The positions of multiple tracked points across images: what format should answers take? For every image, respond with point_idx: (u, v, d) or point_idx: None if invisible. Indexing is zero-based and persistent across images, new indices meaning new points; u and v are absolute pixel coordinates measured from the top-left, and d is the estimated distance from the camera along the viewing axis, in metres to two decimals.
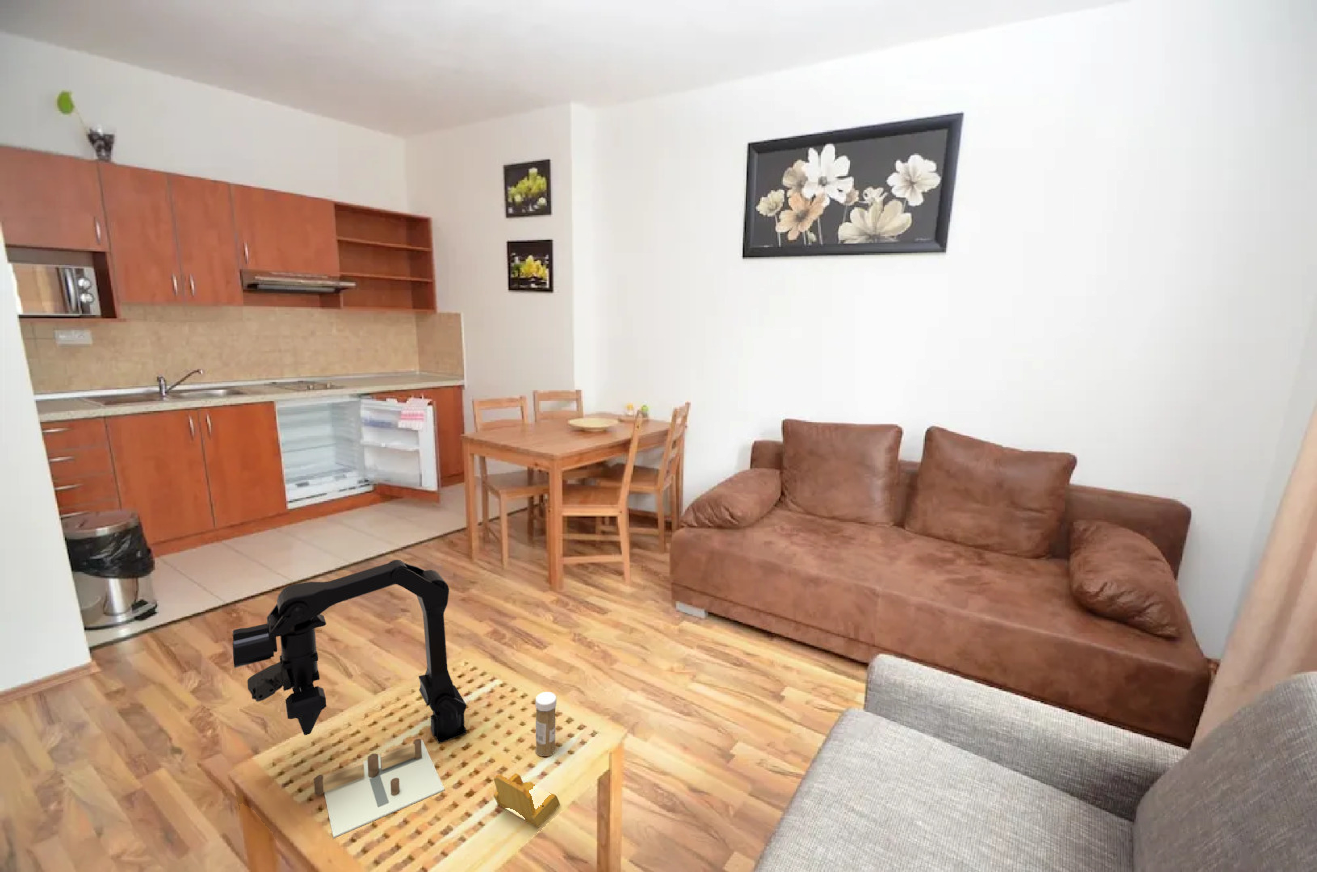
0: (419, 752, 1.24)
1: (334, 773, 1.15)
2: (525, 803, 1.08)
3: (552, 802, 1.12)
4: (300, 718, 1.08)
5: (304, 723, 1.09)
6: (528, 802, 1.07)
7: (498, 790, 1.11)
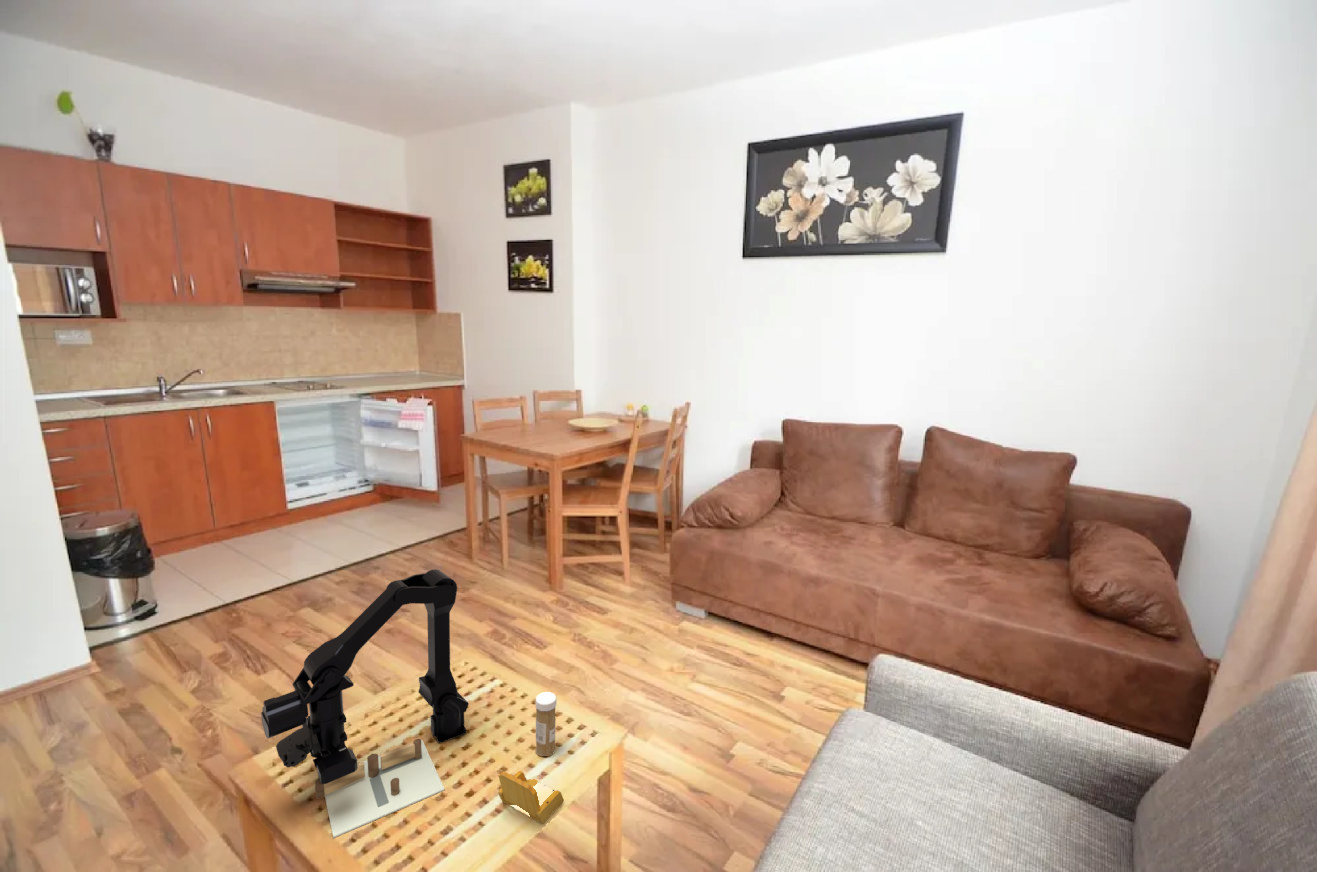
0: (419, 752, 1.24)
1: None
2: (530, 800, 1.09)
3: (556, 798, 1.13)
4: None
5: None
6: (533, 798, 1.08)
7: (503, 787, 1.12)
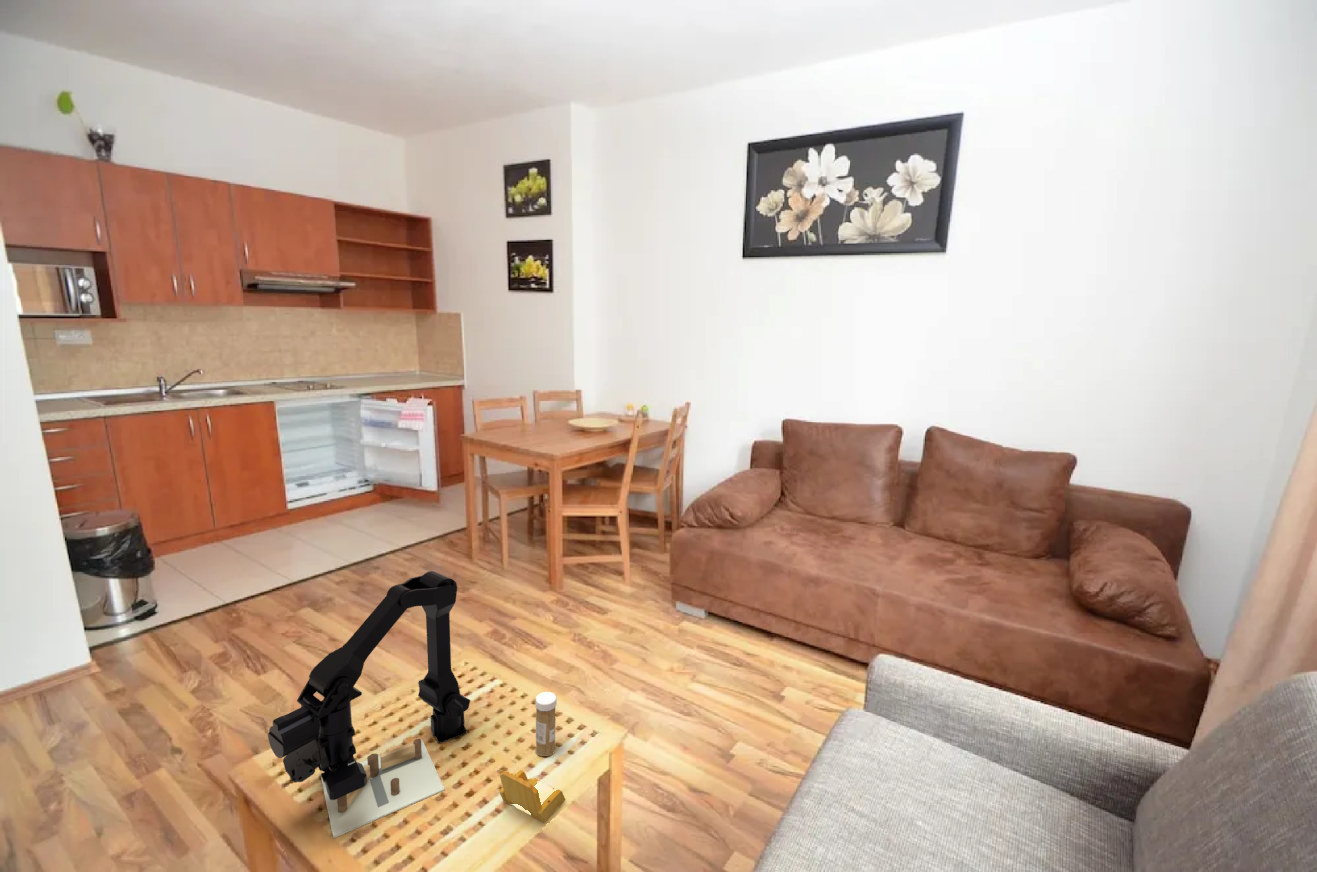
0: (419, 752, 1.24)
1: None
2: (531, 799, 1.09)
3: (558, 797, 1.14)
4: None
5: None
6: (535, 797, 1.08)
7: (504, 786, 1.12)
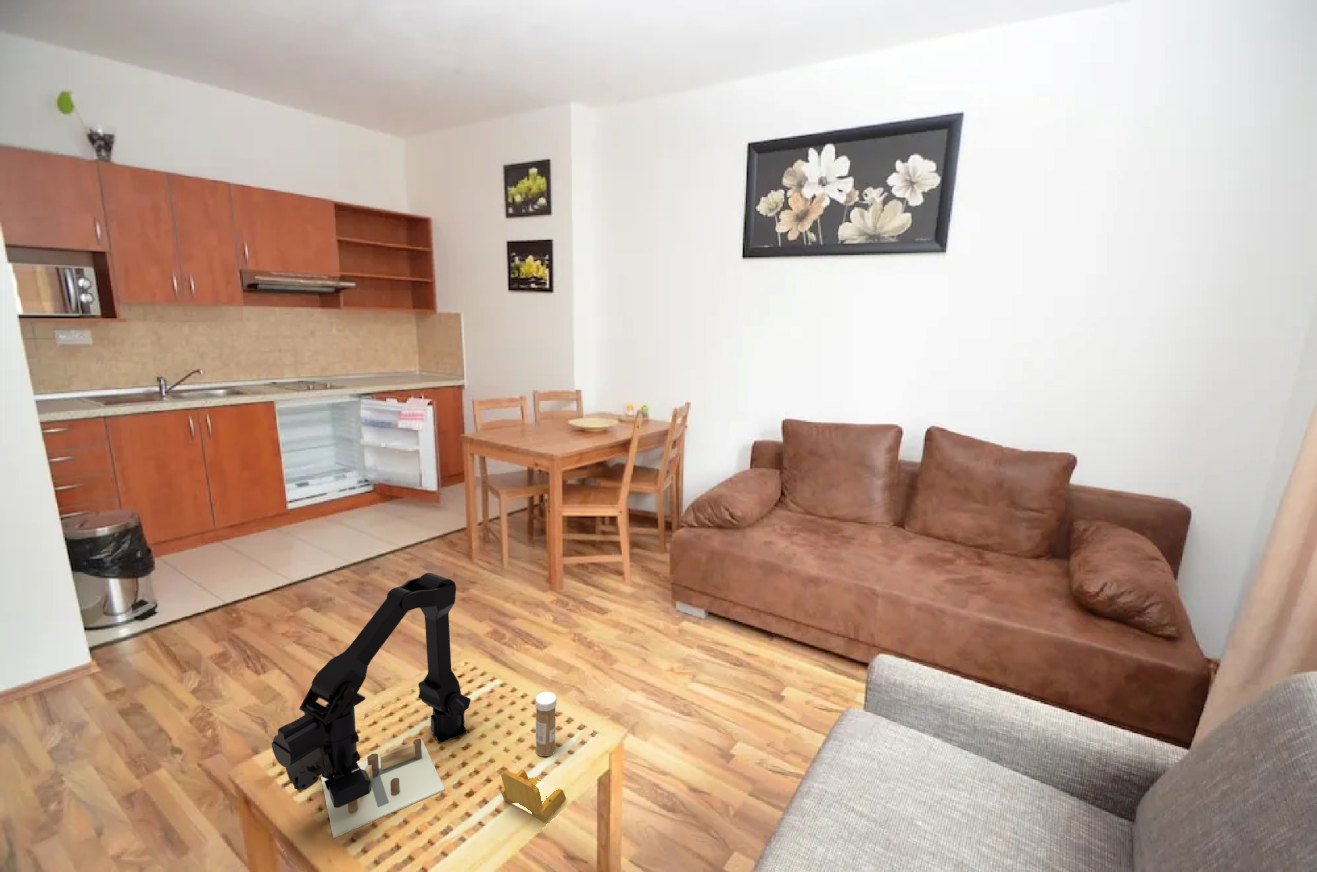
0: (419, 752, 1.24)
1: None
2: (532, 798, 1.09)
3: (559, 796, 1.14)
4: None
5: None
6: (536, 796, 1.08)
7: (505, 786, 1.13)
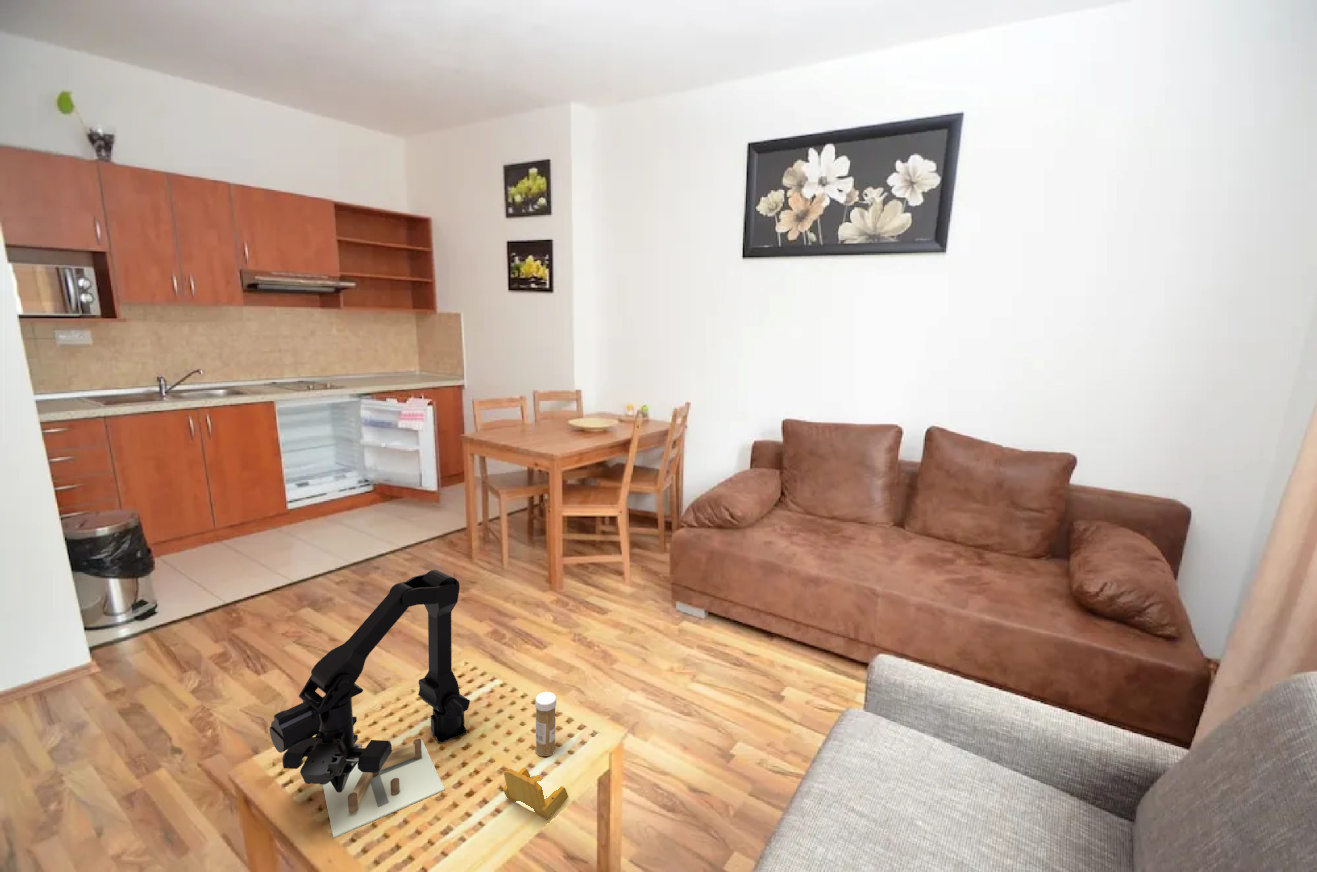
0: (419, 752, 1.24)
1: (359, 785, 1.12)
2: (535, 796, 1.10)
3: (561, 794, 1.14)
4: (345, 773, 1.12)
5: (344, 778, 1.12)
6: (539, 794, 1.09)
7: (508, 784, 1.13)
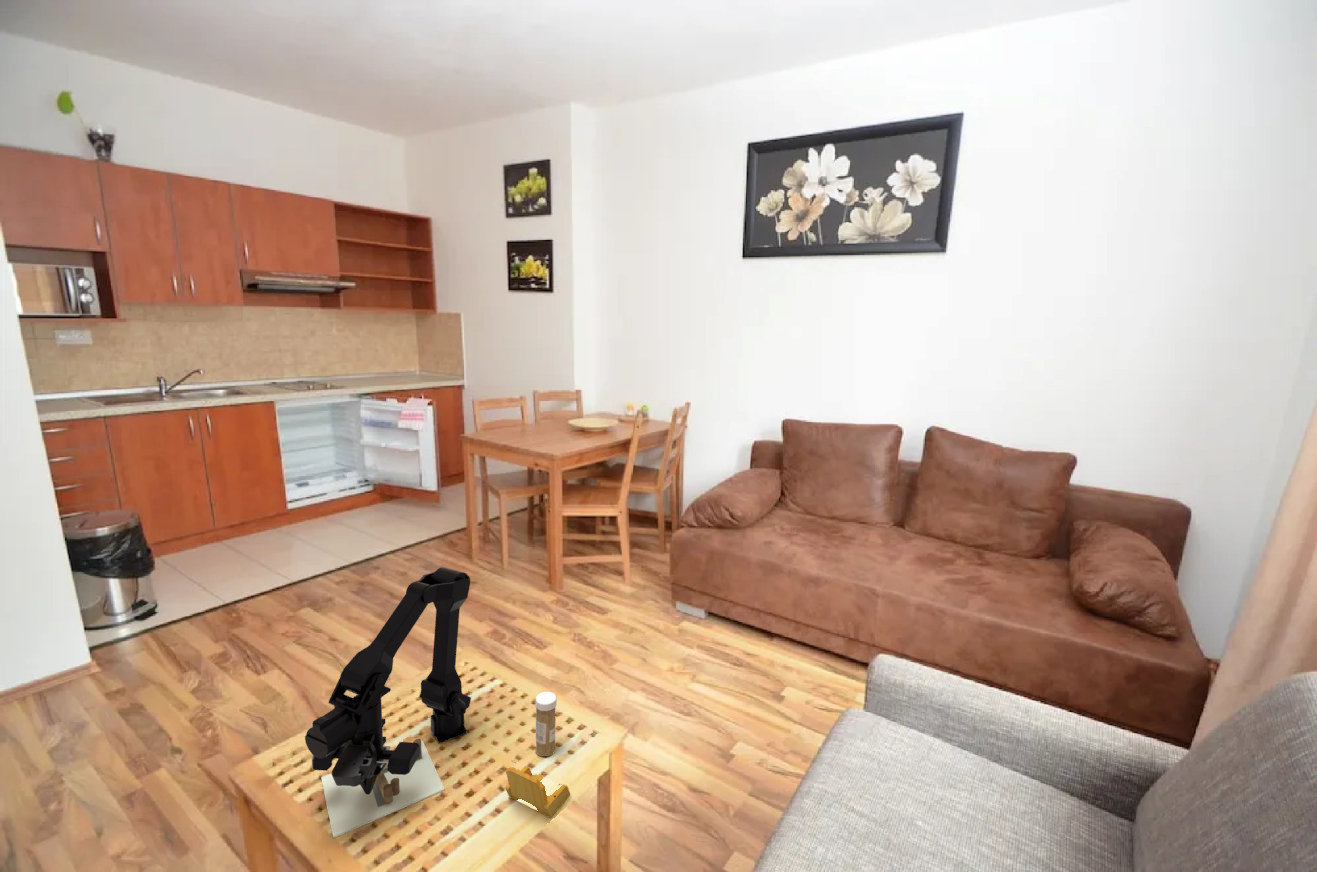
0: None
1: (384, 779, 1.14)
2: (538, 794, 1.10)
3: (563, 792, 1.15)
4: (374, 775, 1.11)
5: (373, 780, 1.12)
6: (541, 792, 1.09)
7: (510, 782, 1.13)
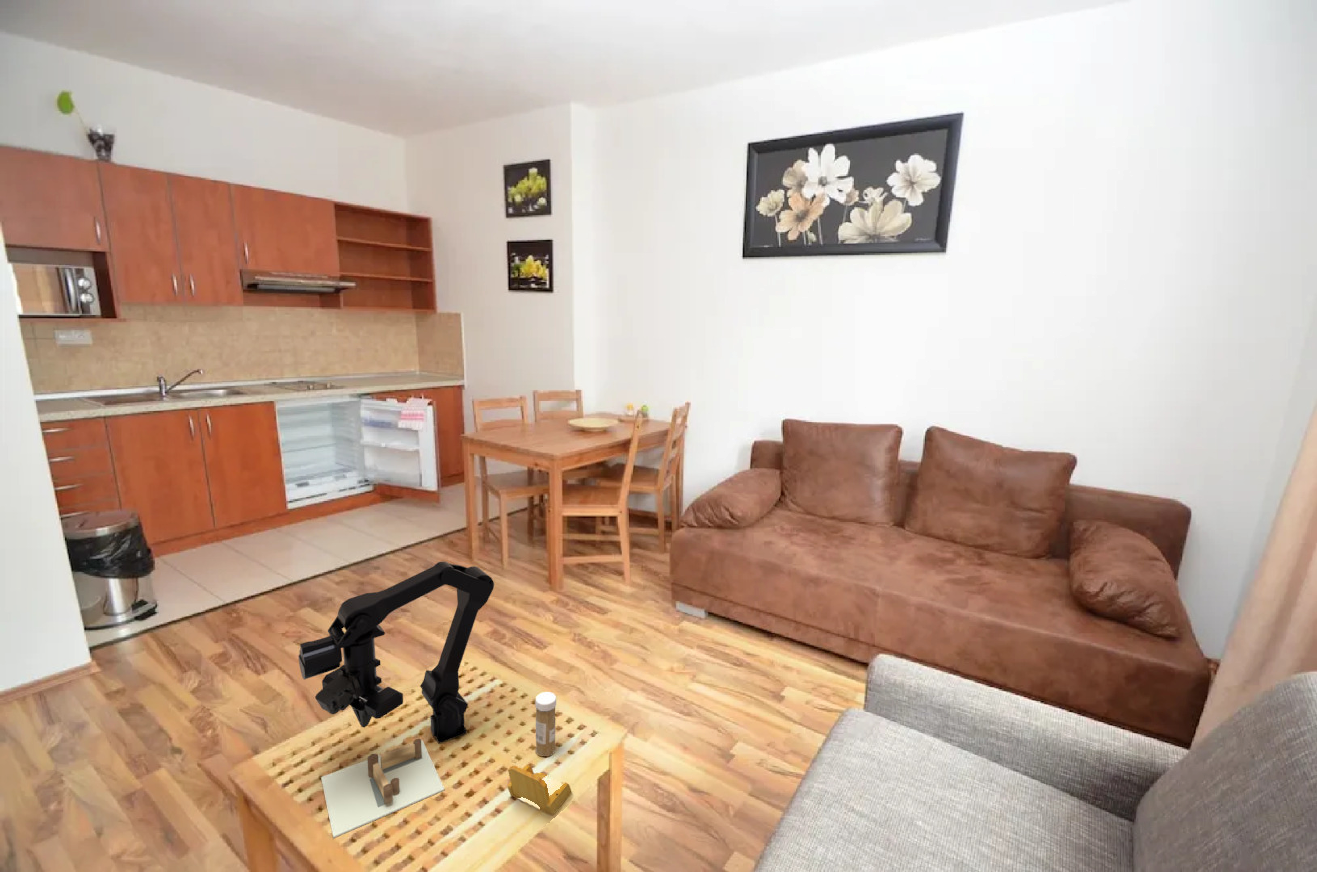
0: (419, 752, 1.24)
1: (384, 779, 1.14)
2: (540, 792, 1.11)
3: (565, 790, 1.15)
4: (364, 711, 1.17)
5: (365, 715, 1.18)
6: (543, 790, 1.10)
7: (512, 781, 1.14)
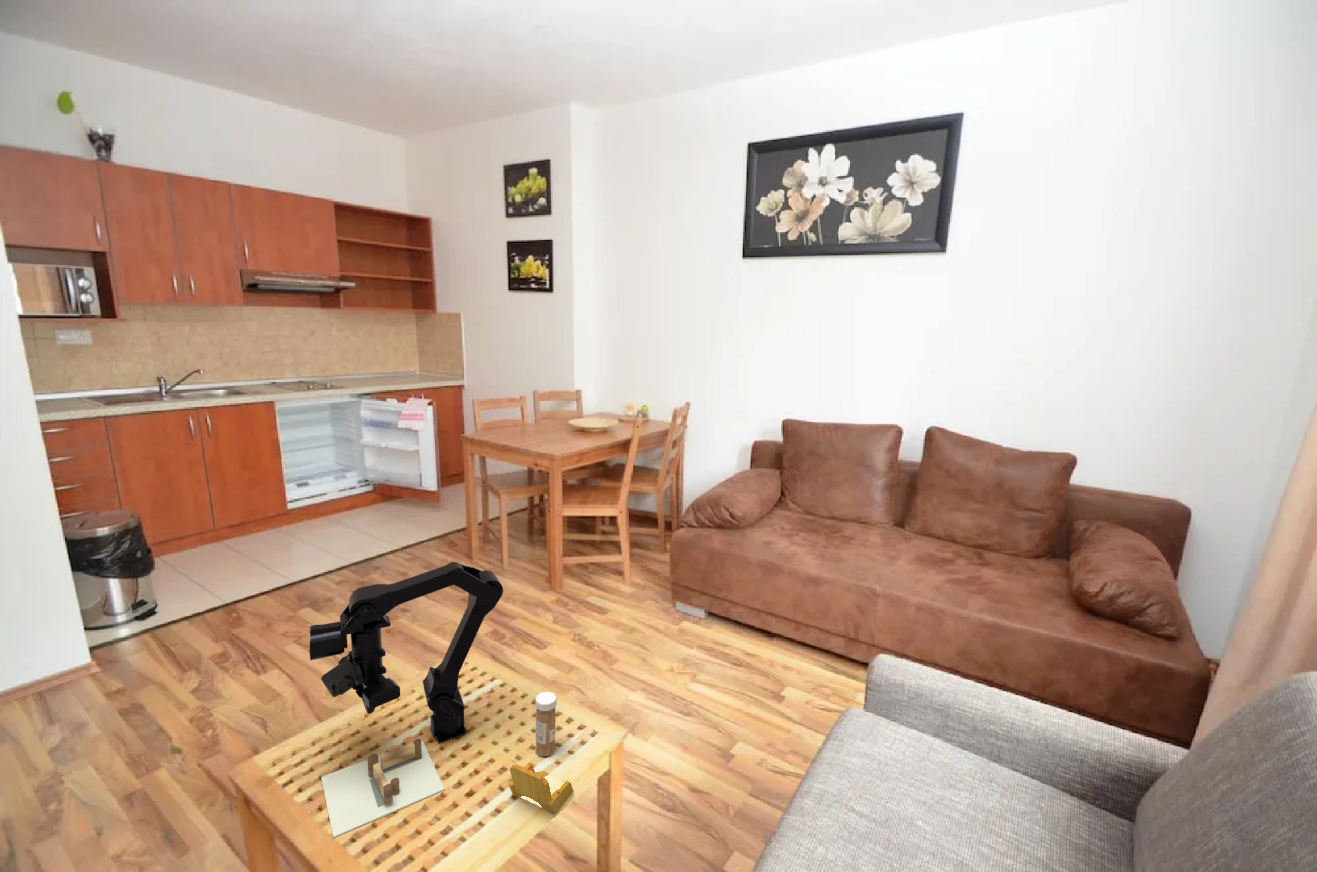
0: (419, 752, 1.24)
1: (384, 779, 1.14)
2: (542, 791, 1.11)
3: (566, 789, 1.16)
4: None
5: None
6: (545, 789, 1.10)
7: (514, 780, 1.14)
